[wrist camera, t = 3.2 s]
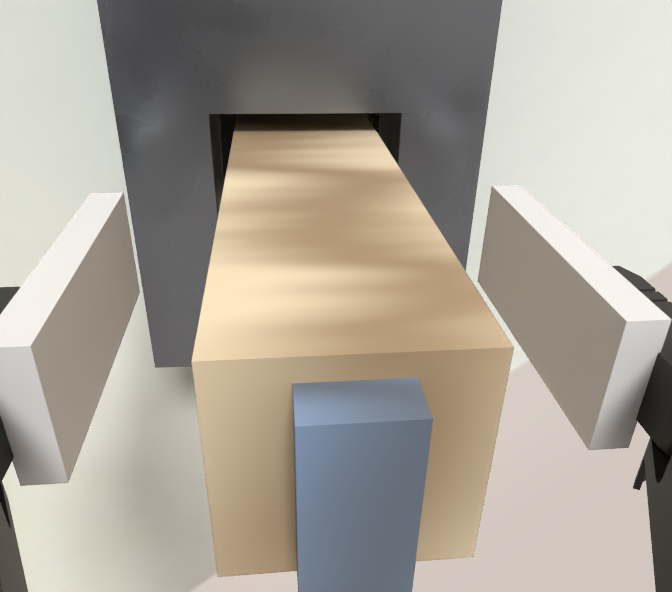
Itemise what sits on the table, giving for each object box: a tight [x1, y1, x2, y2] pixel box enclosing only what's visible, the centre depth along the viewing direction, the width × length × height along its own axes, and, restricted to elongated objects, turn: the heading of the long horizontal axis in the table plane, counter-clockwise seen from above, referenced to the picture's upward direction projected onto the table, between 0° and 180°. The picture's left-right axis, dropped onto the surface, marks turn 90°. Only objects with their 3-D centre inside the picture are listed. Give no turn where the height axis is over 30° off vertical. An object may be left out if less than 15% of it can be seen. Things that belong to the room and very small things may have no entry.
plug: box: [191, 113, 514, 592], centre depth 14 cm, size 4×4×15 cm
